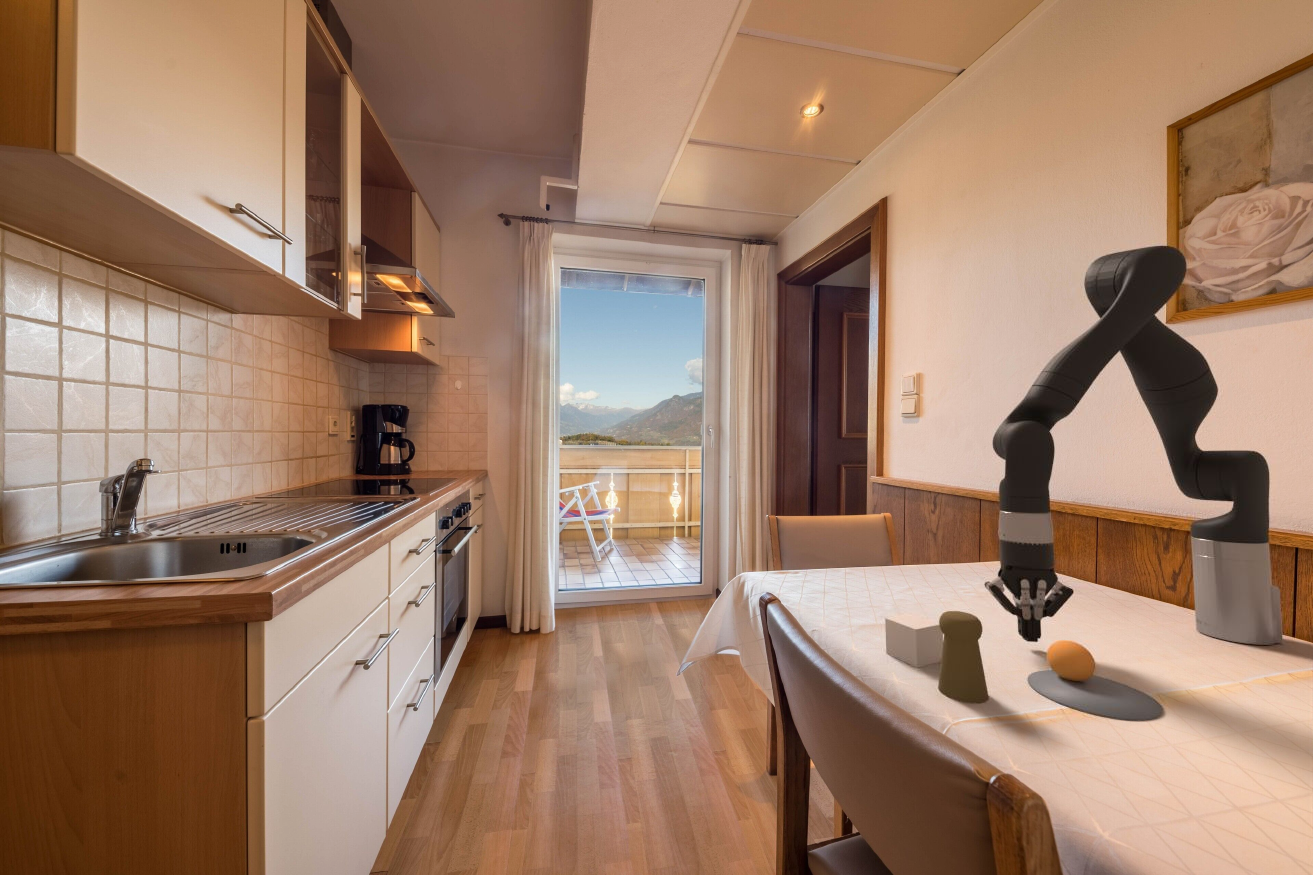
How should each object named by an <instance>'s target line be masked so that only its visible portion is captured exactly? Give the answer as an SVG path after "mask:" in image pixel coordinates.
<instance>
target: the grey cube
mask: <svg viewBox="0 0 1313 875" xmlns="http://www.w3.org/2000/svg"><path fill="white" fill-rule="evenodd" d="M884 622H885V652H886V655H889V656H891V657H893V658H894V659H895V658H896V659H898V660H900V661H902V662H905V663H907V664H908V665H911V666H913V667H915V668H919V667H924V666H928V665H933V664H937V663H941V658H942V649H943V640H944V634H943V633H942V631H941V629H940V626H939V621H938V622H937V621H934V620H931V619H929V618H925V617H923V616H919V615H917V614H914V613H907V614H900V615H895V616H891V617H885V618H884Z"/></svg>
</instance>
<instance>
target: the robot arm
mask: <svg viewBox="0 0 1313 875" xmlns="http://www.w3.org/2000/svg"><path fill="white" fill-rule="evenodd" d="M1187 271H1188V270H1187V260H1186V257H1185V256H1184V254H1183V252H1181V250H1180V249H1177V248H1176V247H1174V246H1170V245H1153V246H1145V247H1140V248H1135V249H1128V250H1123V251H1116V252H1113V253H1109V254H1105V255H1102V256H1100V257H1099V258H1096V259H1095V260H1094V261H1093V262H1092V263H1090V265H1089V267H1088V268H1087V270H1086V272H1085V276H1084V281H1083V282H1084V291H1085V293H1086V294H1085V295H1086V298H1087V300H1088V301H1089V303H1090V305H1091V307H1092V308H1093V310H1094V311H1095V313H1096V315H1097V316H1098V317H1099V318H1100V319H1099V320H1097V321H1096V322H1095V323H1094V324H1092V326H1091V327H1089V328H1088V329H1087V330H1086V331H1085V332H1083V333H1082V334H1081V335H1079V336H1078V337H1077V338H1075V339H1074V340H1073V341H1071V342H1070V343H1069V344H1067V346H1064V347H1063V348H1062V349H1061V350H1060V351H1058V353H1056V354H1055V355H1054V356H1053V357H1052V358H1051V359H1050V360H1049V361H1048V362H1047V364H1046V365H1045V366H1044V368H1043V369H1042V370H1041V372H1040V373H1039V374H1038V377H1037V378H1035V381H1033V383H1032V385H1031V386H1030V388H1029V390H1028V391H1027V393H1026V394H1025V396H1024V398H1023V399H1022V400H1021V401H1020V402H1019V403H1018V404H1017V405H1016V406H1015V407H1014V408H1013V410H1012V411H1011V412H1010V413H1009V414H1008V415H1007V417H1006V418H1005V419H1004V420H1003V421H1002V423H1001V424H1000V425H999V426H998V428H997V429H996V431H995V432H994V435H993V437H992V448H993V451H994V453H995V454H996V455H997V456H998V457H1000V458H1001V459H1002V460H1005V461H1004V462H1005V463H1004V464H1005V465H1004V468H1005V469H1004V477H1003V478H1002V479H1001V480H1000V481H999V487H998V501H999V502H998V503H999V505H998V506H999V517H998V530H997V535H998V541H999V544H998V546H999V562H1000V563H999V564H1000V568H999V570H998V572H997V577H996V578H995V579H993V580H992V581H986V582H984V587H985V588H986V590H987V591H988V592H989V593H990V594H991V595H992V597H993V598H994V599H995V600H996V601H997V602H998V603H999V604H1000V606H1002V608H1003V609H1004V610H1005V611H1006V612H1008V613H1009V614H1011V615H1013V616H1016V617H1017V631H1018V635H1019V636H1021V638H1022V640H1025V642H1028V643H1029V642H1030V643H1031V642H1032V643H1037V642H1039V639H1041V638H1042V624H1041V622H1042V619H1043V618H1047V617H1049V618H1053V617H1054V616H1055V615H1056V614H1057V613H1058V611H1059V610H1060V609H1061V608H1062V607H1063V606H1064V605H1065V604H1066V603H1067V601H1068V600H1069V599H1070V598H1071V597H1072V596H1073V595H1074V589H1073V588H1071V587H1070V586H1067V585H1064V584H1063V583H1062V582H1061V581H1059V578H1058V575H1057V574H1056V572H1055V565H1056V563H1055V545H1054V544H1055V543H1054V542H1055V541H1054V525H1053V521H1052V515H1051V501H1050V500H1051V498H1050V486H1049V485H1050V481H1051V478H1052V473H1053V467H1054V462H1055V461H1054V460H1055V453H1056V452H1055V450H1056V449H1055V448H1056V447H1055V440H1054V437H1053V434H1052V432H1051V431H1052V429H1053V428H1054V427H1055V425H1056V424H1057V423H1058V422H1060V421H1061V420H1063V419H1065V418H1067V417H1068V416H1070V414H1071V413H1072V412H1073V411H1074V410H1075V409H1076V407H1077V406H1078V405H1079V403H1080V402H1081V400H1082V399H1083V398H1084V396H1085V395H1086V393H1087V391H1088V390H1089V389H1090V388H1091V386H1092V385H1093V383H1094V382H1095V381H1096V380H1097V378H1098V376H1099V375H1100V374H1101V372H1102V371H1103V370H1104V369H1105V367H1106V366H1107V365H1108V364H1109V363H1110V362H1111V361H1112V359H1113V358H1115V356H1116V355H1117V354H1118V353H1120V354H1121V356H1122V358H1123V361H1124V362H1125V364H1126V367H1128V370H1129V372H1130V374H1131V376H1132V380H1133V382H1134V384H1135V387H1136V389H1137V390H1138V394H1139V395H1140V397H1141V400H1142V401H1143V403H1144V405H1145V407H1146V409H1147V410H1148V412H1149V414H1150V415H1149V416H1150V417H1151V419H1152V421H1153V424H1154V425H1155V428H1156V430H1157V432H1158V434H1159V436H1160V439H1161V443H1162V444H1163V448H1164V451H1165V455H1166V457H1167V461H1168V464H1169V467H1170V469H1171V473H1172V476H1173V478H1174V481H1175V484H1176V485H1177V487H1178V489H1179V491H1180V492H1181V494H1183V495H1184V496H1185V497H1187V498H1189V499H1194V500H1199V501H1211V502H1213V501H1217V502H1229V503H1230V502H1233V503H1232V508H1231V510H1230V511H1229V512H1226V513H1224V514H1221V515H1219V516H1214V517H1210V518H1204V519H1198V520H1197V519H1196V520H1194V521H1193V522H1192V521H1191V524H1190V541H1191V554H1192V555H1191V558H1192V574H1193V575H1192V576H1193V578H1192V579H1193V592H1194V593H1193V594H1194V596H1193V597H1194V611H1195V612H1194V613H1195V628H1196V631H1198V632H1199V633H1201V634H1204V635H1207V636H1209V637H1212V638H1215V639H1220V640H1224V641H1229V642H1234V643H1240V644H1247V645H1248V644H1249V645H1261V646H1264V645H1265V646H1270V645H1274V644H1283V643H1284V641H1283V640H1284V638H1283V636H1284V635H1283V622H1282V608H1281V607H1282V605H1281V591H1280V588H1279V586H1276V585H1273V581H1272V566H1271V565H1272V564H1271V552H1270V550H1271V549H1270V537H1269V536H1270V535H1269V532H1270V483H1271V482H1270V469H1269V468H1270V467H1269V464H1268V462H1267V460H1266V458H1265V456H1264V455H1262V454H1261V453H1260V452H1258V451H1256V450H1238V449H1237V450H1235V449H1234V450H1231V449H1230V450H1227V449H1226V450H1202V449H1201V448H1200V447H1199V446H1198V444H1197V440H1196V436H1197V433H1198V430H1199V428H1200V426H1201V424H1202V423H1203V422H1204V420H1205V419H1206V418H1207V416H1208V415H1209V413H1210V411H1211V410H1212V408H1213V406H1214V404H1215V402H1216V400H1217V397H1218V396H1219V394H1218V393H1219V388H1218V384H1217V381H1216V380H1215V377H1214V375H1213V372H1212V370H1211V367H1210V364H1209V362H1208V361H1207V359H1206V358H1205V356H1204V354H1202V352H1200V350H1199V349H1197V348H1196V347H1195V345H1193V344H1191V343H1190V342H1189V341H1188V340H1186V339H1185V338H1183V336H1180V334H1178V333H1177V332H1176V331H1174V330H1172V329H1171V328H1170V327H1169V326H1167V325H1165V323H1163V322H1162V321H1161V320H1160V319H1159V318H1158V317H1157V316H1156V314H1157V313H1158V312H1159V311H1160V310H1161V309H1162V308H1164V306H1165V305H1166V304H1167V303H1168V302H1169V301H1170V300H1171V299H1172V297H1173V296H1174V295H1175V294H1176V293H1177V292H1178V290H1179V289H1180V287H1181V285H1182V284H1183V282H1184V279H1186V278H1185V277H1186V274H1187ZM1004 586H1005V587H1006V589H1007V590H1008V591H1009V592H1010V594H1011V595H1012V600H1013V602H1014V604H1013V603H1012V601H1011V600H1010V599H1009V598H1008V597H1007V596H1006V594H1004V592H1005V591H1006V590H1005V587H1004ZM1050 592H1051V593H1050ZM1048 594H1049V595H1048ZM1047 595H1048V596H1047Z"/></svg>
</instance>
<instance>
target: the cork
mask: <svg viewBox="0 0 1313 875" xmlns="http://www.w3.org/2000/svg"><path fill="white" fill-rule="evenodd" d="M938 623H939V626H940V629H941V631H942V633H943V649H942V658H941V662H940V666H939V667H940V668H939V674H938V676H939V678H938V686H937V689H938V690H939V692H940V693H941V694H942V695H944V696H946V697H947V698H949V699H952V700H954V701H957V702H962V703H966V704H984V703H987V702H988V701H989V699H990V698H989V691H988V686H987V681H986V676H985V670H984V665H983V661H982V660H983V659H982V654H981V649H980V643H979V640H980V638H981V637H982V634H983V624H982V622H981V620H980V619H979V617H977V616H975V615H974V614H972V613H969V612H965V611H960V610H948V611H945V612H943V613H942V614H941V615H940V616H939V619H938Z"/></svg>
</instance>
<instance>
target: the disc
mask: <svg viewBox="0 0 1313 875" xmlns="http://www.w3.org/2000/svg"><path fill="white" fill-rule="evenodd" d="M1027 684H1028V686H1029V687H1030V688H1031V689H1033V690H1034V691H1035V692H1036V693H1038V694H1039V695H1041V696H1043V697H1045V698H1046V699H1047V700H1050V701H1053V702H1055V703H1057V704H1059V705H1062V706H1065V707H1068V708H1071V709H1074V710H1076V711H1079V712H1084V713H1086V714H1091V715H1095V716H1100V717H1103V718H1104V717H1105V718H1108V719H1109V718H1111V719H1117V720H1125V721H1150V720H1155V719H1158V718H1160V717H1161V716H1162V715H1163V714H1164V709H1163V706H1162V704H1161V702H1159V701H1158V700H1157V699H1155V698H1154V697H1152V696H1151V695H1149V694H1147V693H1145V692H1144V691H1141V690H1139V689H1137V688H1135V687H1132V686H1130V685H1128V684H1125V683H1121V682H1120V681H1116V680H1112V679H1110V678H1106V677H1101V676H1098V675H1094V674H1093V675H1092V676H1091V677H1090V678H1088V679H1087V680H1084V681H1071V680H1067V679H1065V678H1063V677H1061V676H1059V675H1058V674H1057V673H1056V672H1054V671H1053V669H1045V670H1038V671H1034V672H1031V673H1030V674H1028V676H1027Z"/></svg>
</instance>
